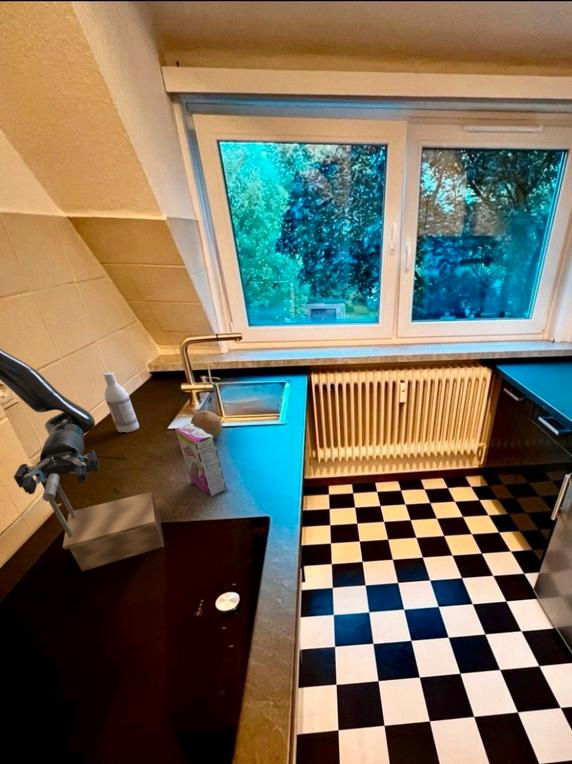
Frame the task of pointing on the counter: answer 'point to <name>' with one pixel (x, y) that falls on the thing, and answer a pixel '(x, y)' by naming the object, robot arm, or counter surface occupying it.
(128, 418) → the bath foam
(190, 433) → the candy bar box
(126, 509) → the box lid
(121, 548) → the oak box
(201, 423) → the brown round ball
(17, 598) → the counter surface
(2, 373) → the robot arm
